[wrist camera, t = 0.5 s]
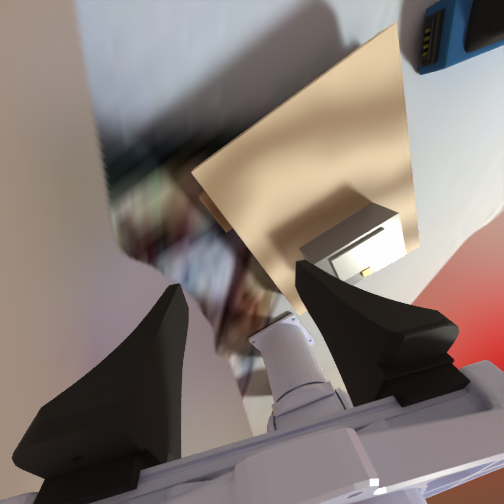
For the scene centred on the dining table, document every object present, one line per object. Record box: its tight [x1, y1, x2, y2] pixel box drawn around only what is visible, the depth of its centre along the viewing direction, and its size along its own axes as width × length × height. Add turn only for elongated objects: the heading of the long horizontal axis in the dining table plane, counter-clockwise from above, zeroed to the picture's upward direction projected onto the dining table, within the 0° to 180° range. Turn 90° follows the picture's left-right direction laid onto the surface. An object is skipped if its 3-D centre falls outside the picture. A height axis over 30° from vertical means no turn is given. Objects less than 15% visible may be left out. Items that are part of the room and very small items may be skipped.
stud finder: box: [299, 203, 406, 285], centre depth 19 cm, size 5×8×3 cm, turn 120°
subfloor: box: [191, 22, 420, 316], centre depth 20 cm, size 20×18×4 cm
